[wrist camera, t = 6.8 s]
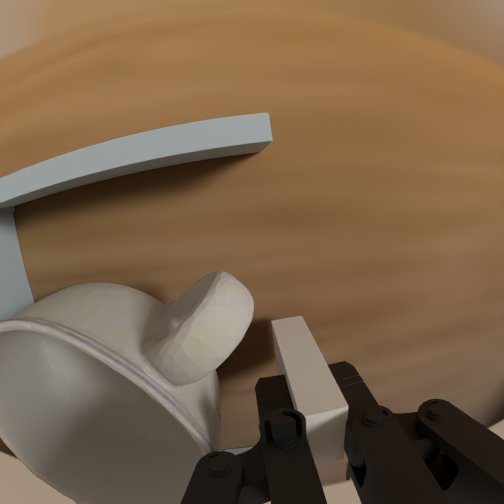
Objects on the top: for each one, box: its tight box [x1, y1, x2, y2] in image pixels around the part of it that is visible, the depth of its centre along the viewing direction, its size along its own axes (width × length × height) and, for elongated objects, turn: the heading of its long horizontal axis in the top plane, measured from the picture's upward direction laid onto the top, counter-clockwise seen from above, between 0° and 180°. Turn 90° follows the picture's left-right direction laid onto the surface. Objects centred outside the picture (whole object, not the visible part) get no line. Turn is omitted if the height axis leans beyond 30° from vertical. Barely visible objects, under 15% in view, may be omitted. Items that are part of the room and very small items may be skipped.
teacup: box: [0, 271, 254, 504], centre depth 11 cm, size 14×11×8 cm
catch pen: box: [0, 113, 272, 504], centre depth 13 cm, size 15×21×5 cm
